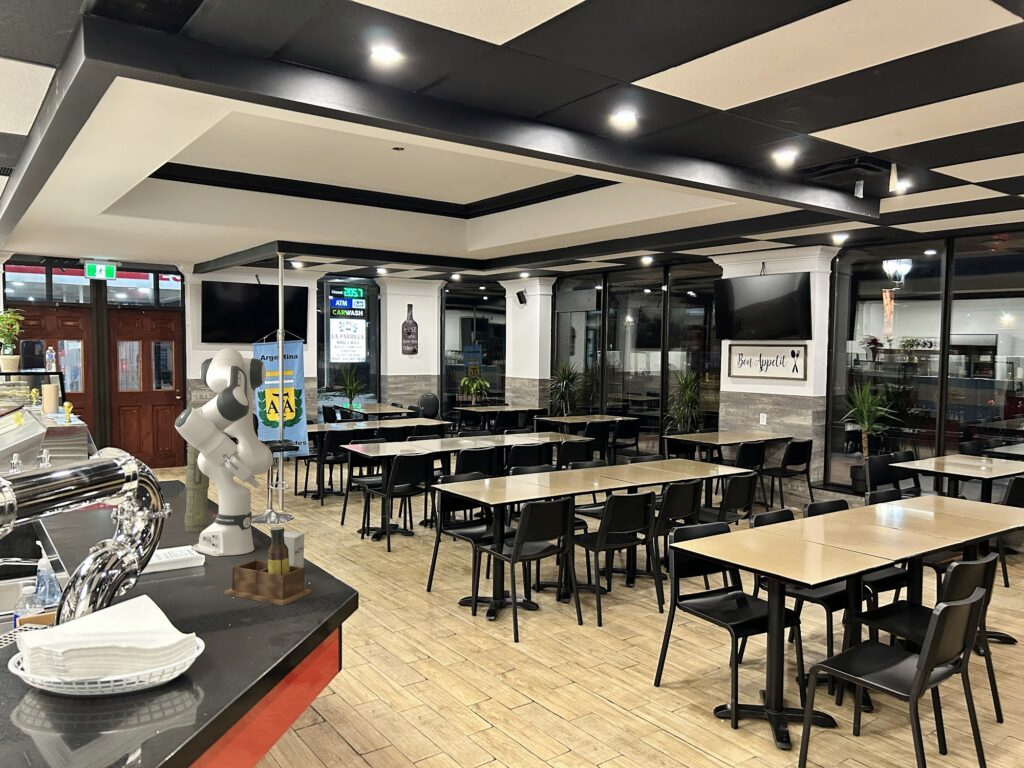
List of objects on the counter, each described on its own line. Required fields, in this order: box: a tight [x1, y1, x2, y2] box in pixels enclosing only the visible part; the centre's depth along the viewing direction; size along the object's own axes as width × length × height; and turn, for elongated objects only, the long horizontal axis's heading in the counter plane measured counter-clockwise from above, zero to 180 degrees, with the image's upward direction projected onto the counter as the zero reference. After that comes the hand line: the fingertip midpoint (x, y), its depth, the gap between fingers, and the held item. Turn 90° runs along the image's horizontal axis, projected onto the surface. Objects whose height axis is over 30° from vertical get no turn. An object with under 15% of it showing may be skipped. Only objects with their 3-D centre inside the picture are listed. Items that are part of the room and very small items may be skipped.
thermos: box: [183, 444, 210, 534], centre depth 295 cm, size 9×12×35 cm
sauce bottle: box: [267, 526, 290, 575], centre depth 224 cm, size 6×6×20 cm
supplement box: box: [284, 531, 305, 568], centre depth 248 cm, size 7×7×13 cm
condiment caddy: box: [224, 558, 312, 607], centre depth 226 cm, size 22×13×8 cm, turn 68°
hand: (255, 482), depth 226 cm, fingers open, 8 cm apart
